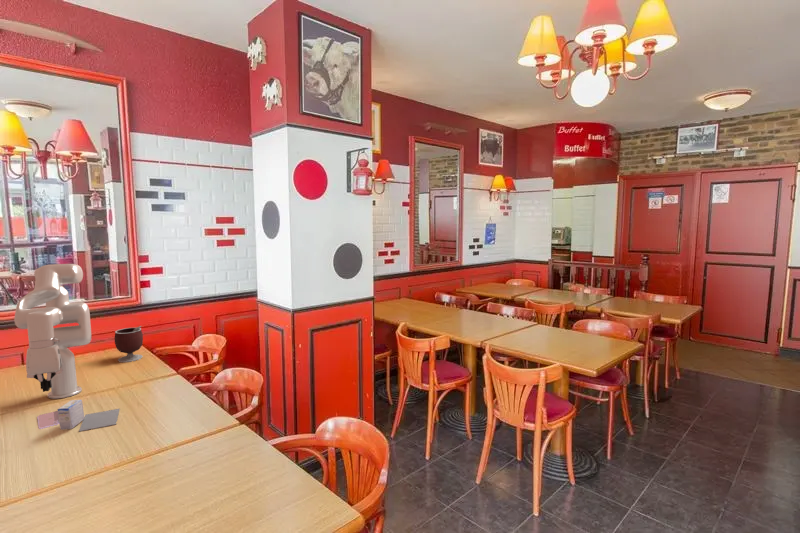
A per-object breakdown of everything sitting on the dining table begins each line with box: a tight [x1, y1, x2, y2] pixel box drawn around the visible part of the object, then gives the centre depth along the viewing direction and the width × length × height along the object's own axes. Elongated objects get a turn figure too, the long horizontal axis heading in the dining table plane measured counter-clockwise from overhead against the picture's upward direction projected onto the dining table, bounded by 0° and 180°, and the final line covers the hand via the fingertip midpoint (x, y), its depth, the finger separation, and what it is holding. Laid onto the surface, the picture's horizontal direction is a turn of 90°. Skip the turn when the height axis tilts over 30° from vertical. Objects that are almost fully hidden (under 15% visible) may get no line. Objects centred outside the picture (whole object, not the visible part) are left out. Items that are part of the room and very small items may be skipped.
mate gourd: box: [114, 325, 144, 363], centre depth 250 cm, size 16×14×20 cm
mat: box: [78, 408, 121, 433], centre depth 175 cm, size 16×12×1 cm
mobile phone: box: [36, 410, 60, 430], centre depth 176 cm, size 8×1×15 cm
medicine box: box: [57, 399, 85, 431], centre depth 170 cm, size 8×4×9 cm, turn 5°
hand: (46, 390), depth 165 cm, fingers closed
